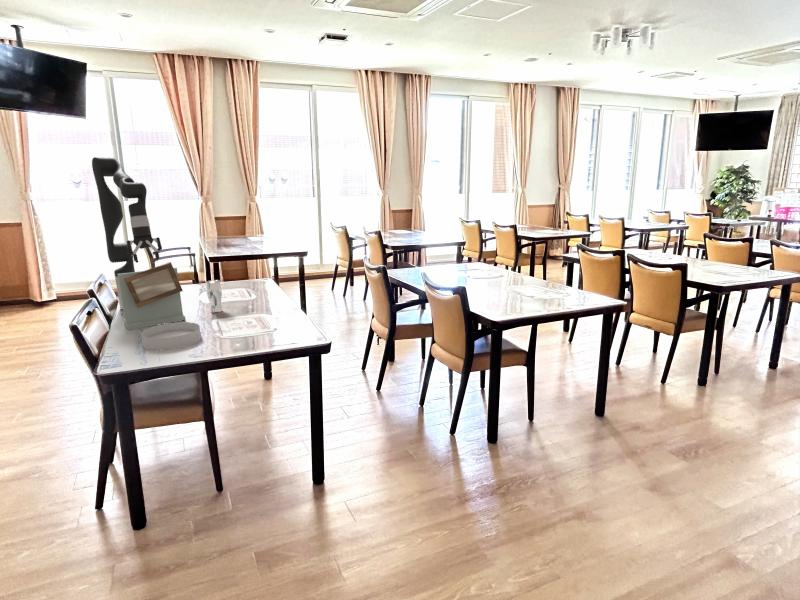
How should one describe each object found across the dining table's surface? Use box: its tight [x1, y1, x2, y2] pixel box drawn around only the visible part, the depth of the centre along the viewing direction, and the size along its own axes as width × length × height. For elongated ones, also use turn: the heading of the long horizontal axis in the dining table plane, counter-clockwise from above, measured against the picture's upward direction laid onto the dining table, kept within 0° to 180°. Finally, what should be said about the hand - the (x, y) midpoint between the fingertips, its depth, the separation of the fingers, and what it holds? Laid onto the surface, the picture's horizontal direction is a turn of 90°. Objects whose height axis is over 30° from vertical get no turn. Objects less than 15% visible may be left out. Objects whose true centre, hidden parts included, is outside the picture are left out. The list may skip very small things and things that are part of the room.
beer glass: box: [205, 279, 224, 314], centre depth 250 cm, size 7×7×15 cm
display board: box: [118, 266, 187, 331], centre depth 232 cm, size 12×24×24 cm, turn 124°
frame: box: [124, 261, 184, 308], centre depth 228 cm, size 2×20×14 cm, turn 124°
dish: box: [140, 321, 202, 350], centre depth 207 cm, size 22×22×5 cm
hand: (147, 261), depth 238 cm, fingers open, 8 cm apart
